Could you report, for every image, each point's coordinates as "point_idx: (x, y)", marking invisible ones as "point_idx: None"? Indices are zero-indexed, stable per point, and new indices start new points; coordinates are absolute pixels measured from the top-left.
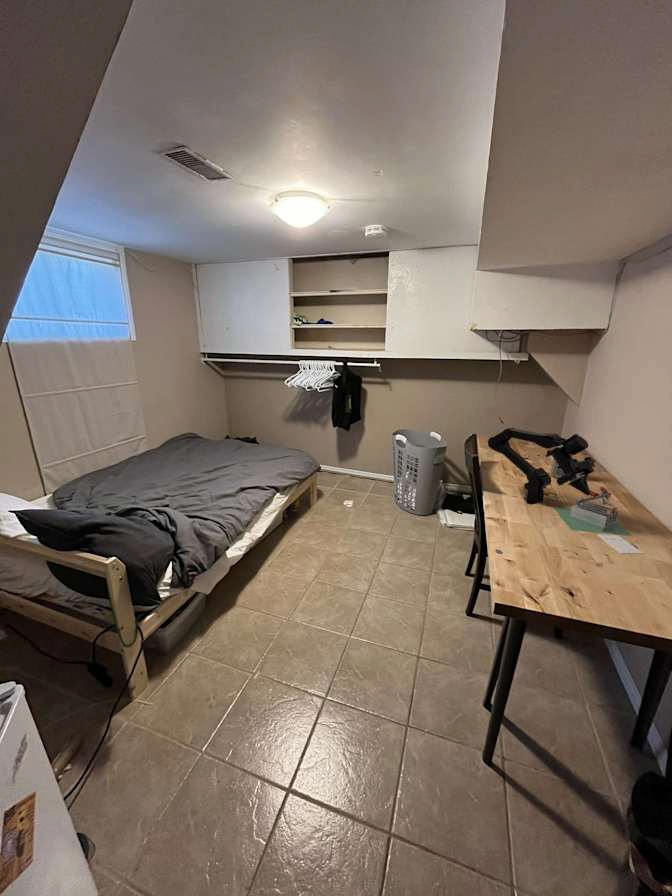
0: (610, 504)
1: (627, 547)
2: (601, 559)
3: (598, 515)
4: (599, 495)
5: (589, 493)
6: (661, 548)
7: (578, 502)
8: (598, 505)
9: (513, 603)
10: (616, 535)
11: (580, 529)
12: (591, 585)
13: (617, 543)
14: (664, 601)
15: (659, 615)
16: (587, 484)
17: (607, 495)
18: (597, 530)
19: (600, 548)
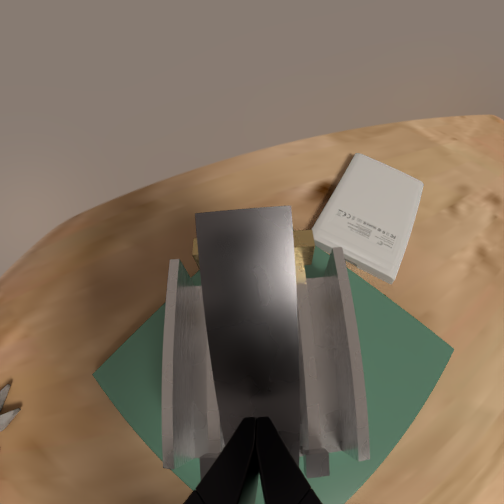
0: (9, 385)
1: (373, 183)
2: (476, 205)
3: (348, 291)
4: (228, 328)
5: (264, 420)
6: (250, 157)
7: (328, 453)
8: (174, 374)
9: None
10: (320, 237)
11: (418, 336)
12: None
13: (380, 208)
14: (454, 116)
15: (481, 118)
16: (190, 501)
17: (289, 209)
18: (354, 298)
19: (441, 232)
